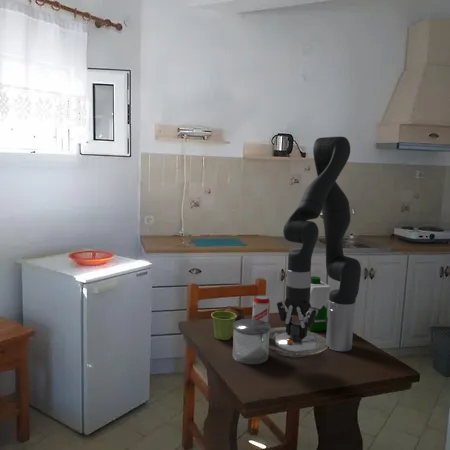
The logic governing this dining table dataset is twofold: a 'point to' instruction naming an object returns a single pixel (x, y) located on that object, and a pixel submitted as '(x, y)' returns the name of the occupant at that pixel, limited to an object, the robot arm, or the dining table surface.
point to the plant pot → (223, 324)
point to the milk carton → (319, 303)
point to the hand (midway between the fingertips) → (296, 336)
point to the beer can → (261, 308)
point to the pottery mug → (236, 312)
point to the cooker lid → (295, 340)
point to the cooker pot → (251, 341)
